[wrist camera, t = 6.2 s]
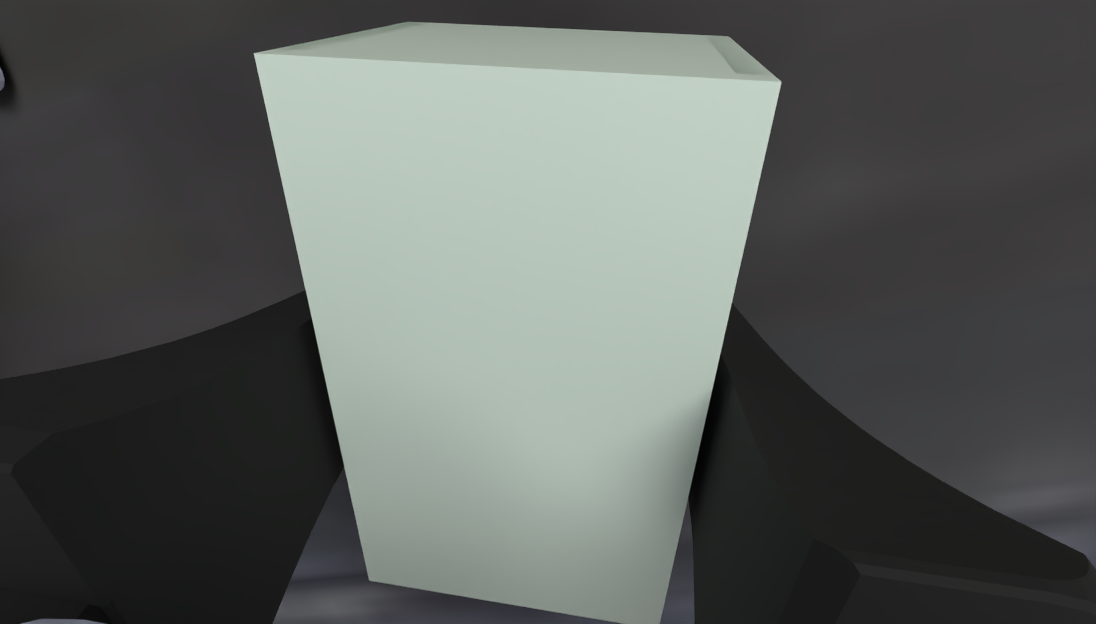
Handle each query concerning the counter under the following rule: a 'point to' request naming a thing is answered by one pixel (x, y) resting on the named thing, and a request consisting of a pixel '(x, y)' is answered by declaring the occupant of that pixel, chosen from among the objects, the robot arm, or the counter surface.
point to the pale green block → (520, 291)
